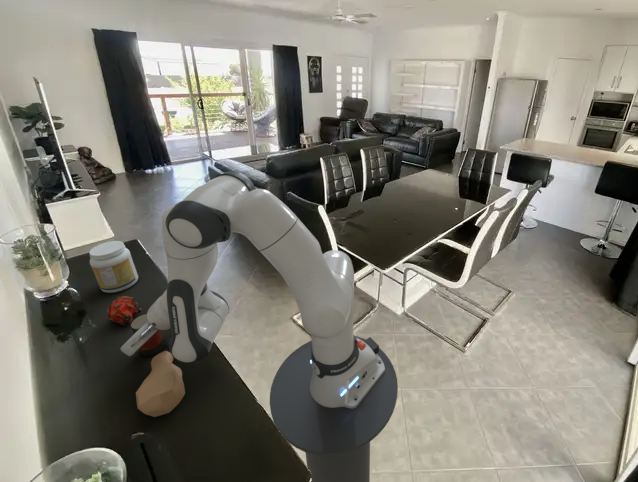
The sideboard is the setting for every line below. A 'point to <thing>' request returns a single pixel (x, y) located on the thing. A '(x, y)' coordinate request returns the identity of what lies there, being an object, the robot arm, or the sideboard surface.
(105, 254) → the supplement tub
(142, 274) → the sideboard surface
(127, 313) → the dragon fruit
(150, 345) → the tin
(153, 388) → the squash
